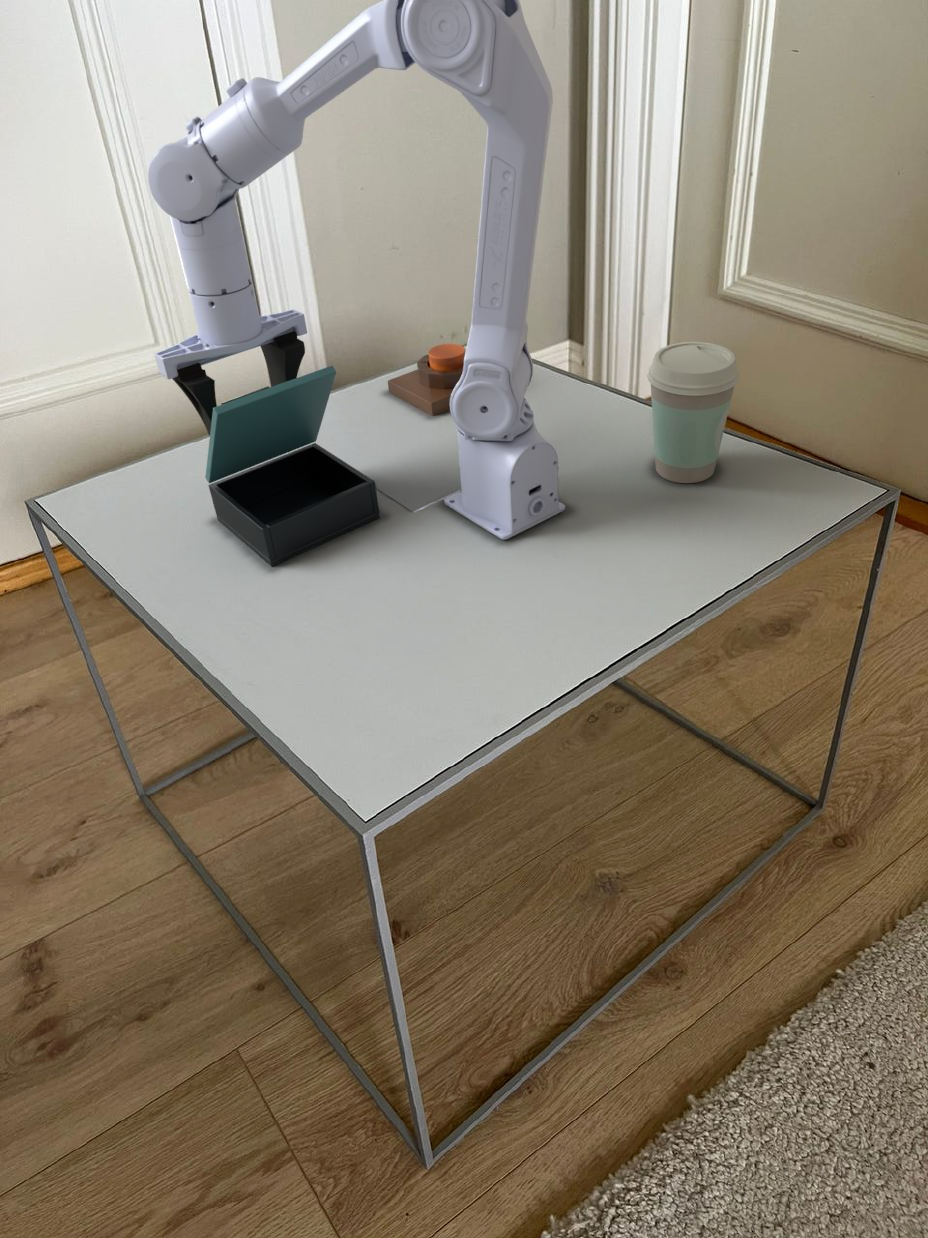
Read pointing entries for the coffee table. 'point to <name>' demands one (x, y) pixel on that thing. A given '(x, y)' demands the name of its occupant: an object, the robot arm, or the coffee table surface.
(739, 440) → the coffee table surface
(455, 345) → the button
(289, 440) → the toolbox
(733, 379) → the coffee cup
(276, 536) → the open-top box
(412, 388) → the block
